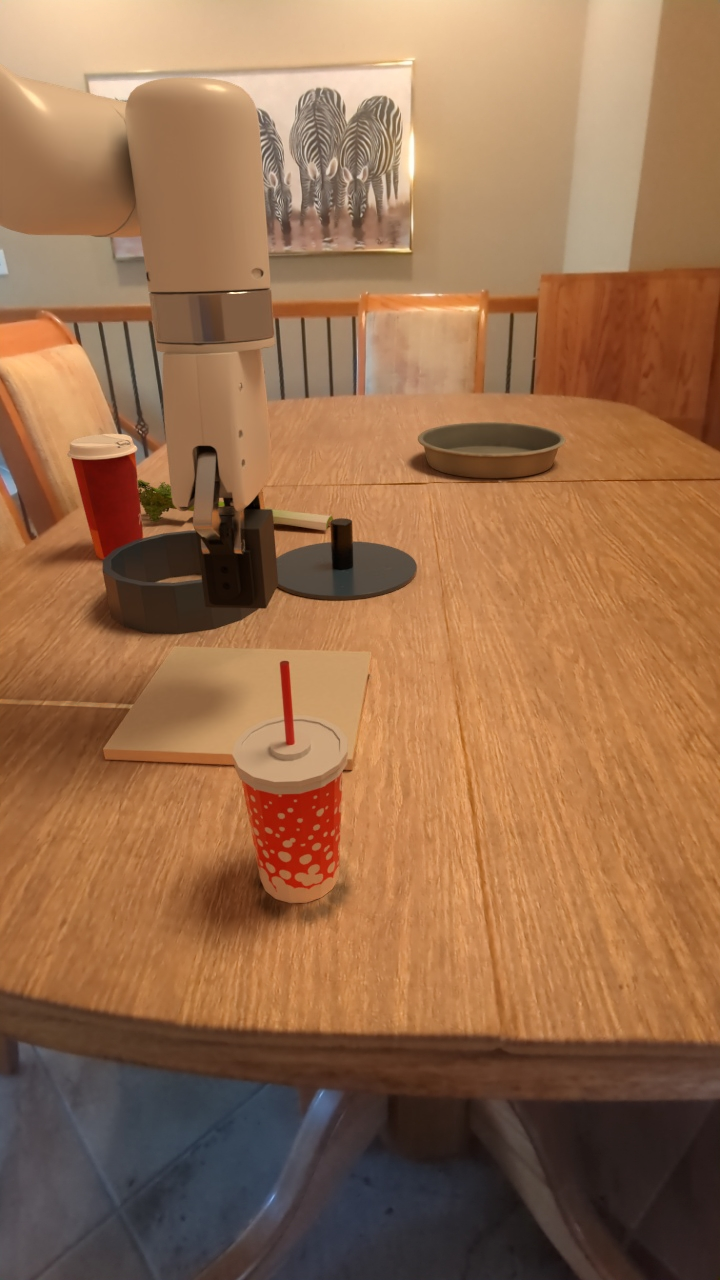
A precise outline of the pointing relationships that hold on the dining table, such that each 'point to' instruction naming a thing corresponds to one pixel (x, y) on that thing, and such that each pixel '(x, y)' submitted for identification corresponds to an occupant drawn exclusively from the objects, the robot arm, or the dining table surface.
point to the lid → (344, 567)
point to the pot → (162, 587)
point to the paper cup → (108, 489)
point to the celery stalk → (163, 501)
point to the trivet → (236, 701)
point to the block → (253, 556)
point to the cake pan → (491, 449)
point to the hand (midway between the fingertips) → (241, 586)
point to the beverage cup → (294, 799)
